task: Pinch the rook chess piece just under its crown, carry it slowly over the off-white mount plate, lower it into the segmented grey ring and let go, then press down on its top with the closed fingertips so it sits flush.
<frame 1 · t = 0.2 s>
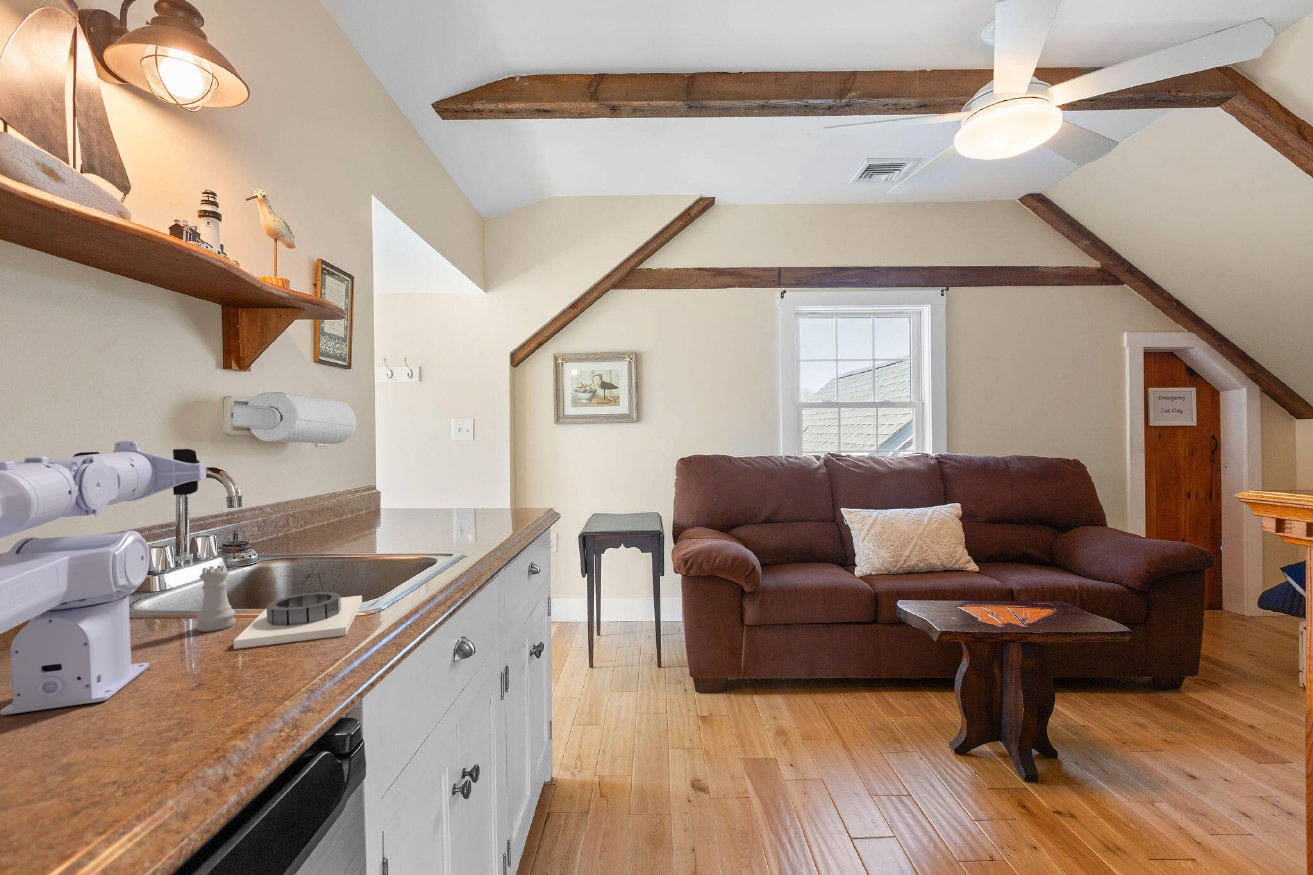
hand: (162, 469, 81), 21 cm above the table, tool horizontal, fingers open, 7 cm apart
rook chess piece: (216, 628, 82), on the table
segmented grey ring: (304, 607, 82), on the mount plate, point 1 cm above the table
mount plate: (305, 622, 82), on the table
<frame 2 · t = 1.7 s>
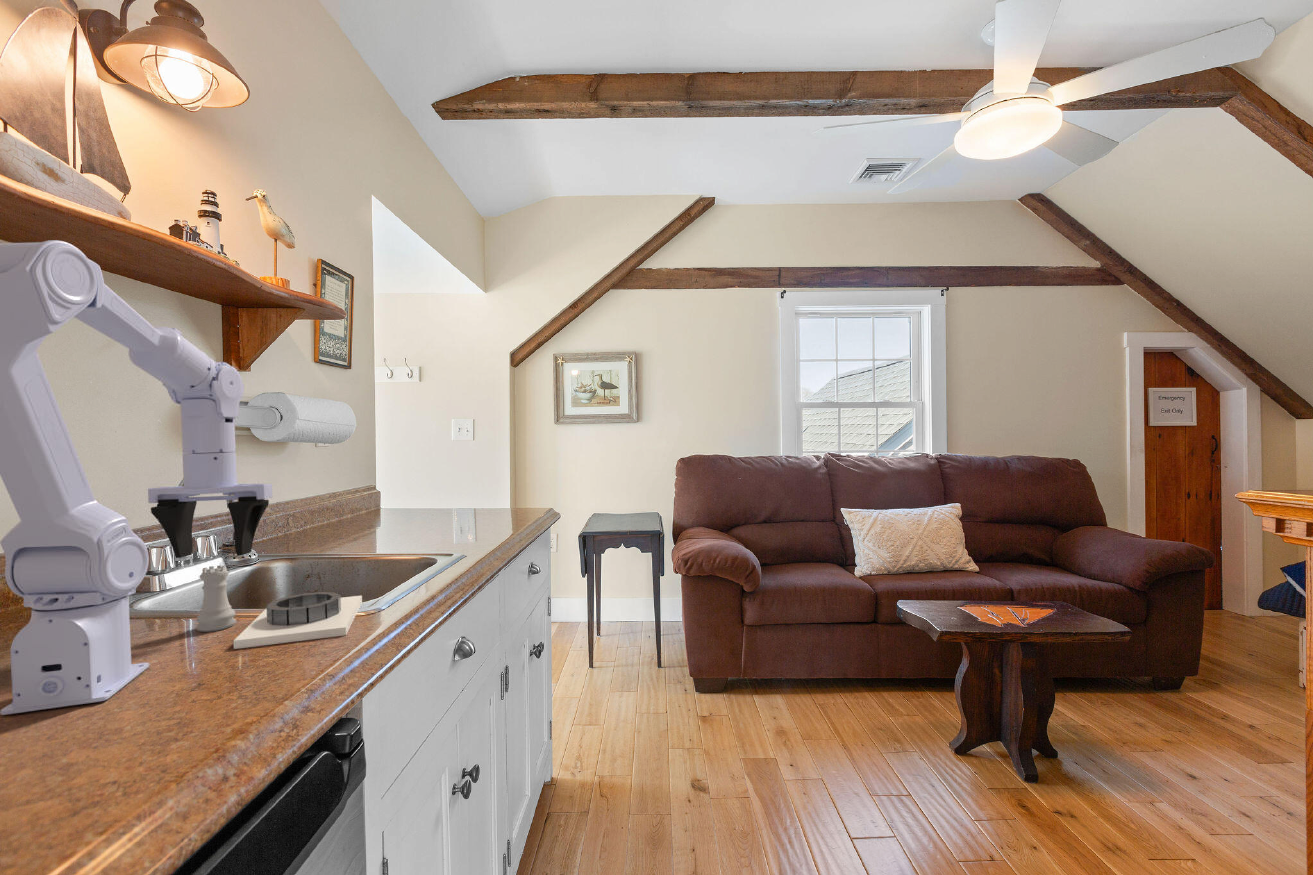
hand: (213, 555, 81), 10 cm above the table, tool pointing down, fingers open, 7 cm apart
nothing on the table moved.
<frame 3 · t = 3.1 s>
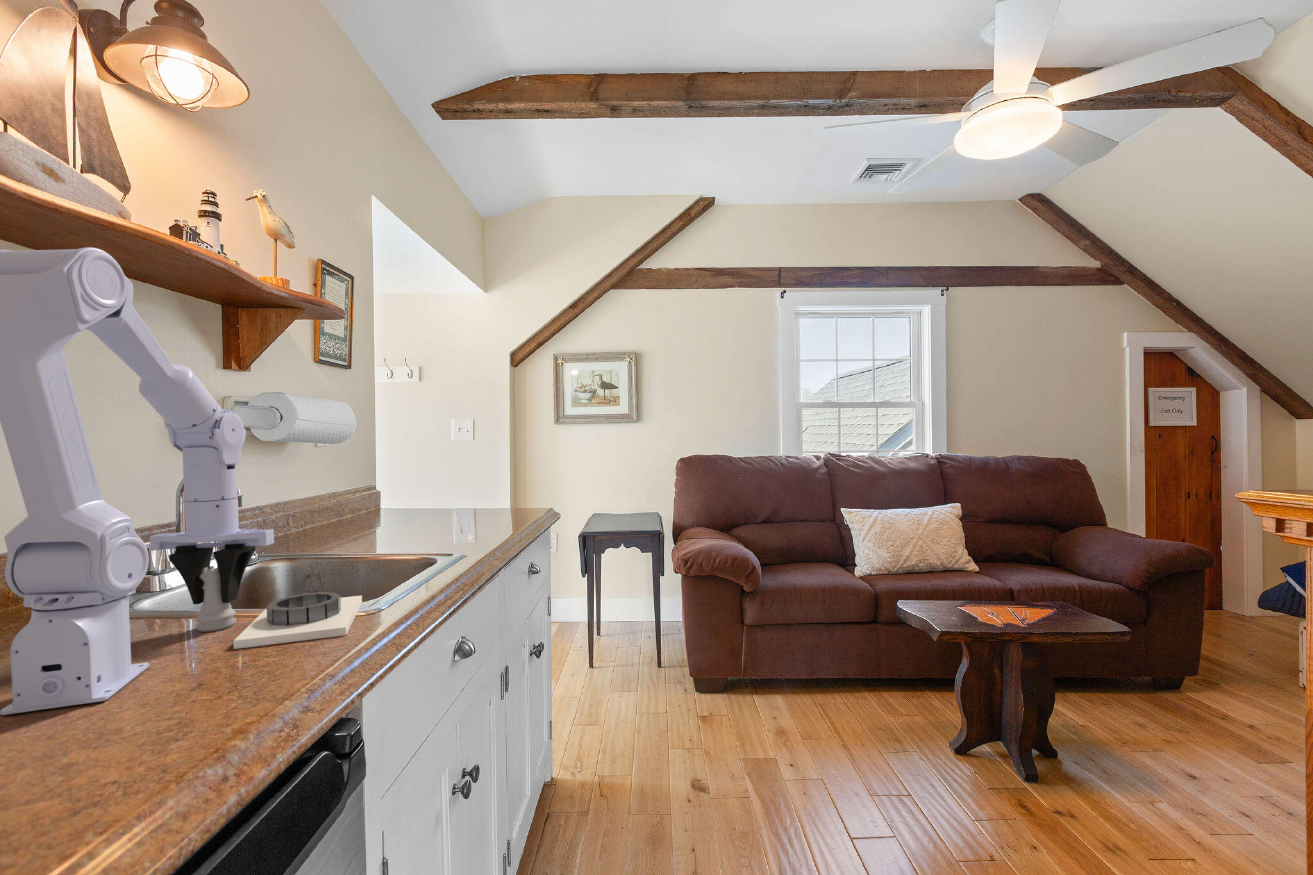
hand: (215, 601, 82), 3 cm above the table, tool pointing down, fingers closed on rook chess piece, 3 cm apart
rook chess piece: (216, 628, 82), on the table, touching gripper
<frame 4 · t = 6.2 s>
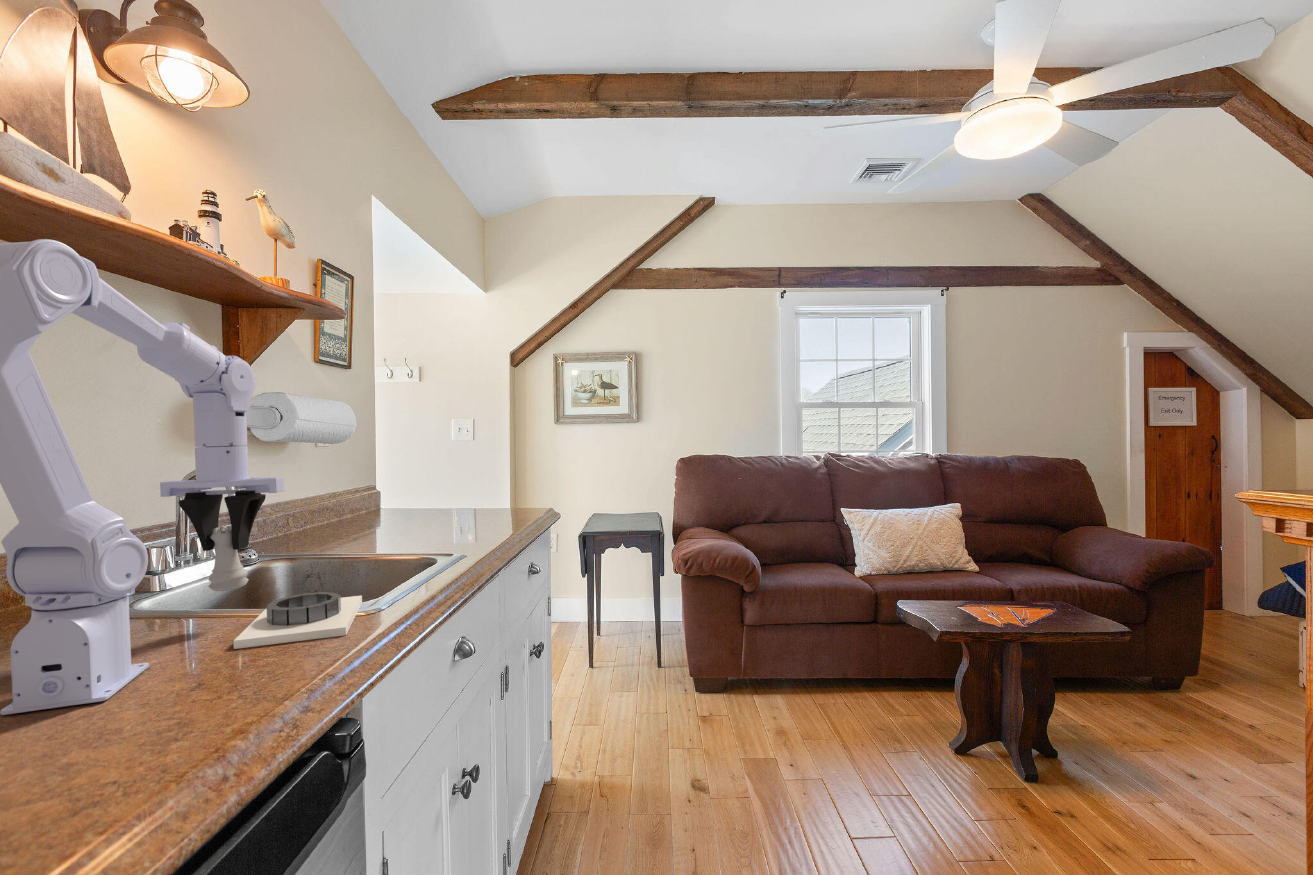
hand: (225, 548, 82), 10 cm above the table, tool pointing down, fingers closed on rook chess piece, 3 cm apart
rook chess piece: (229, 587, 82), point 5 cm above the table, touching gripper
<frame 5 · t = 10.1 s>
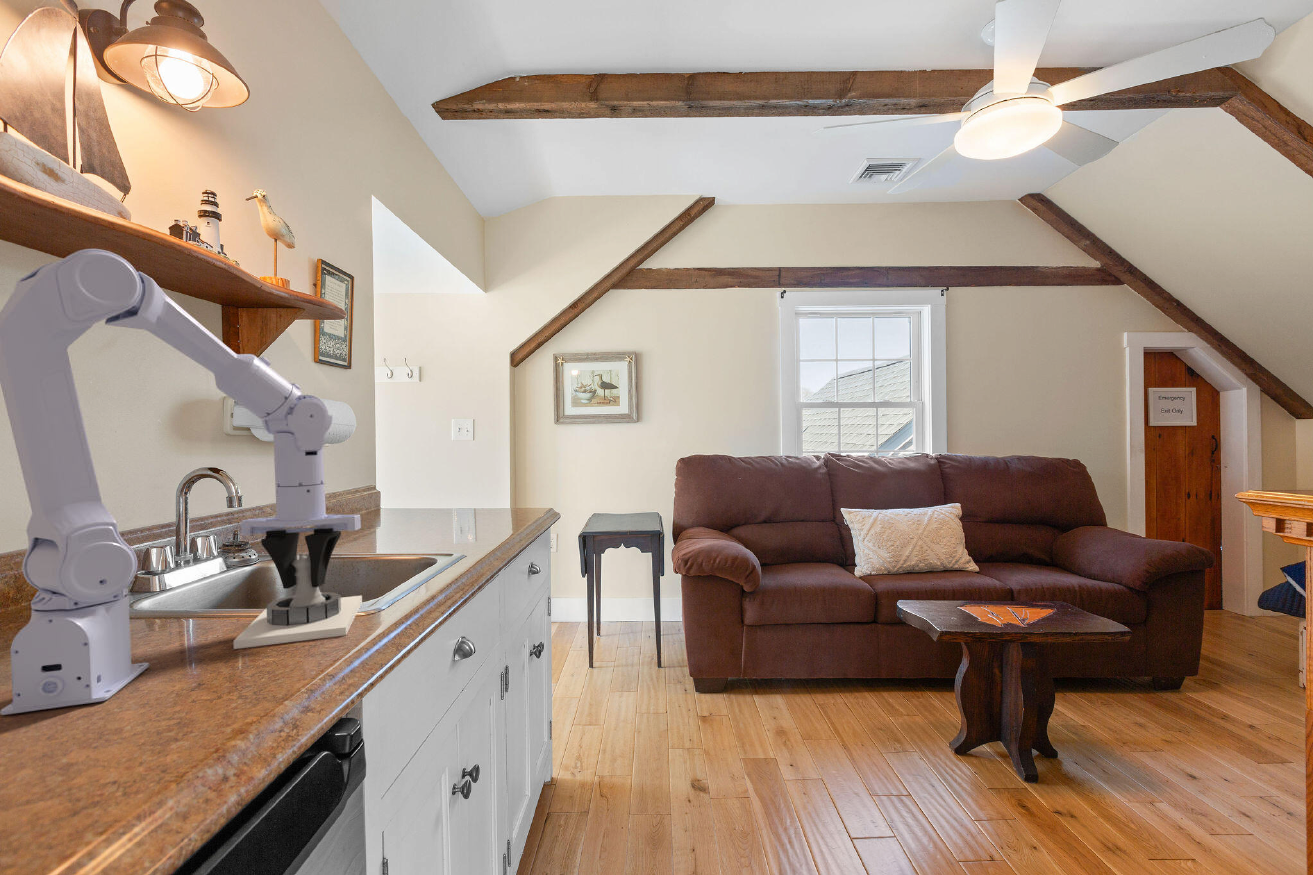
hand: (304, 586, 82), 5 cm above the table, tool pointing down, fingers closed on rook chess piece, 3 cm apart
rook chess piece: (308, 615, 83), point 1 cm above the table, touching gripper, mount plate
when the fingers open (5 cm above the table, at t = 10.3 s): rook chess piece stays where it is, resting on mount plate.
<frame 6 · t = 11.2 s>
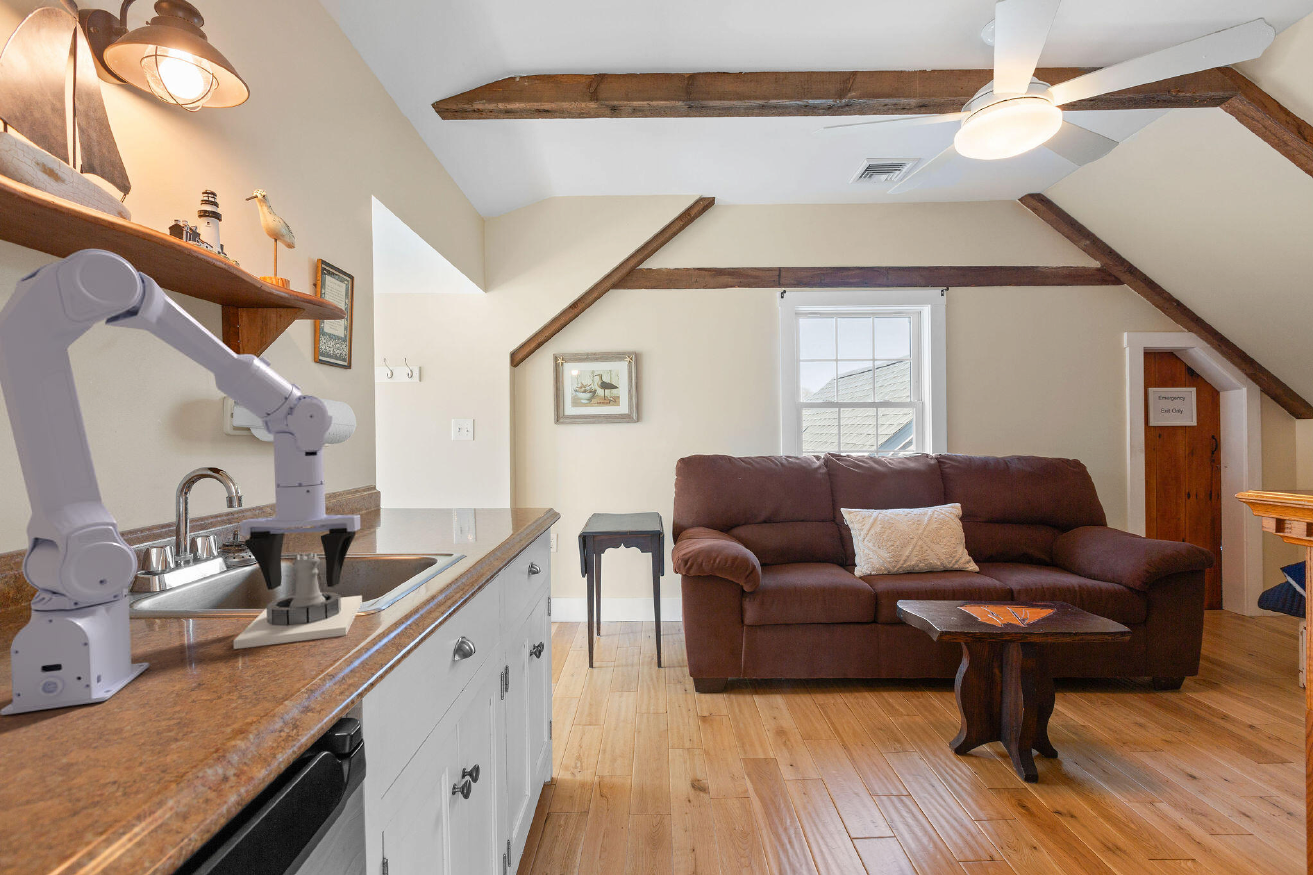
hand: (304, 586, 82), 5 cm above the table, tool pointing down, fingers open, 7 cm apart
rook chess piece: (308, 615, 83), point 1 cm above the table, touching mount plate
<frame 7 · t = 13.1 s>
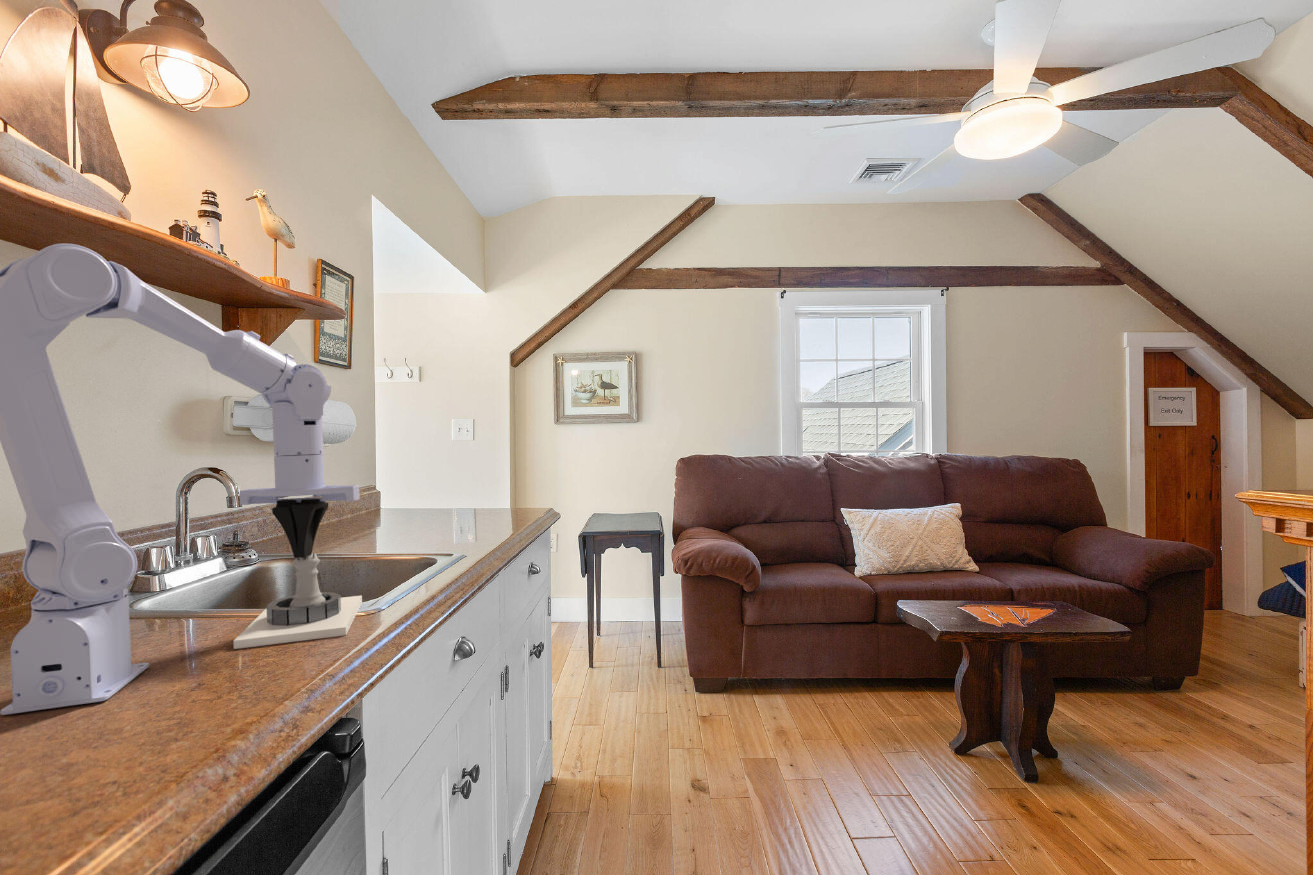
hand: (303, 556, 82), 9 cm above the table, tool pointing down, fingers closed, pressing on rook chess piece
rook chess piece: (308, 615, 83), point 1 cm above the table, touching gripper, mount plate
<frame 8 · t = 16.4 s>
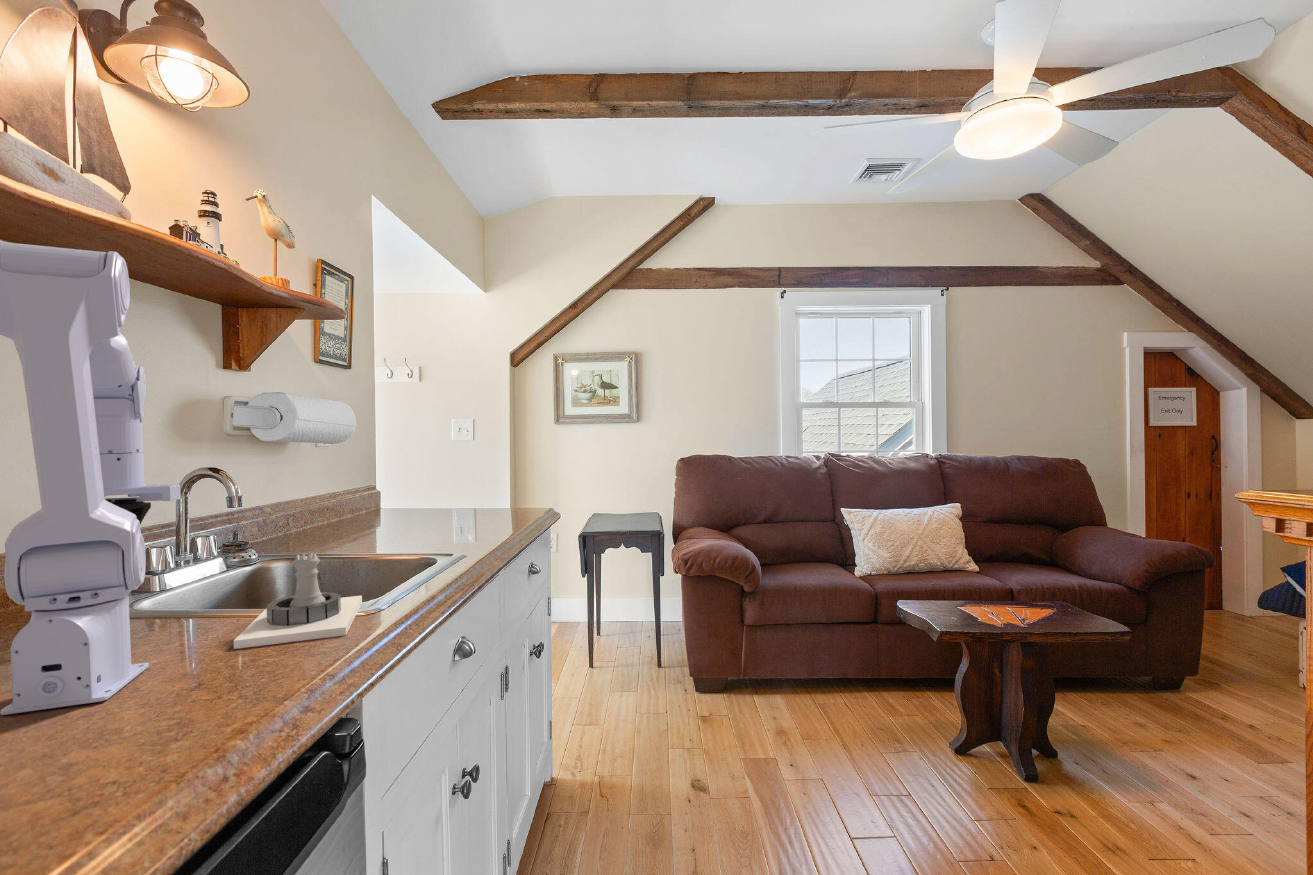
hand: (119, 558, 80), 10 cm above the table, tool pointing down, fingers closed
rook chess piece: (308, 615, 83), point 1 cm above the table, touching mount plate
at the end: rook chess piece 0.8 cm off-centre on the segmented grey ring, point 0.8 cm above the segmented grey ring's base; rook chess piece tilted 0°; the gripper is holding nothing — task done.
